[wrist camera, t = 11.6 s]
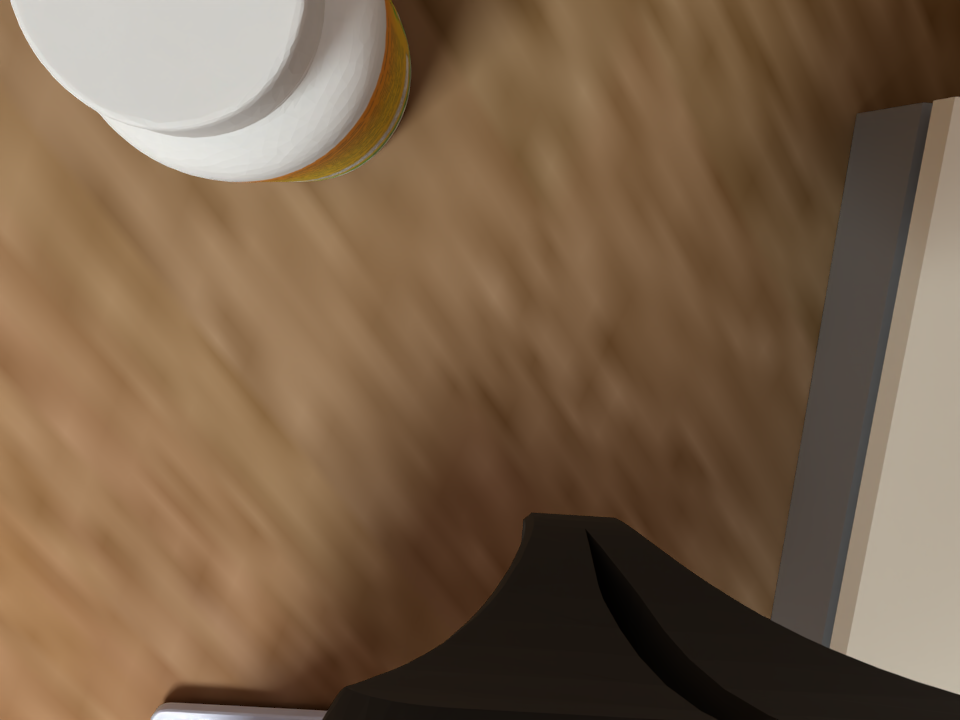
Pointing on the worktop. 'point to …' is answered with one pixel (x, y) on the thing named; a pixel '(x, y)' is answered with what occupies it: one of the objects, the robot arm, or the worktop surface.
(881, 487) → the panel
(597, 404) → the worktop surface
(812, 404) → the cable duct
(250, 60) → the supplement bottle
